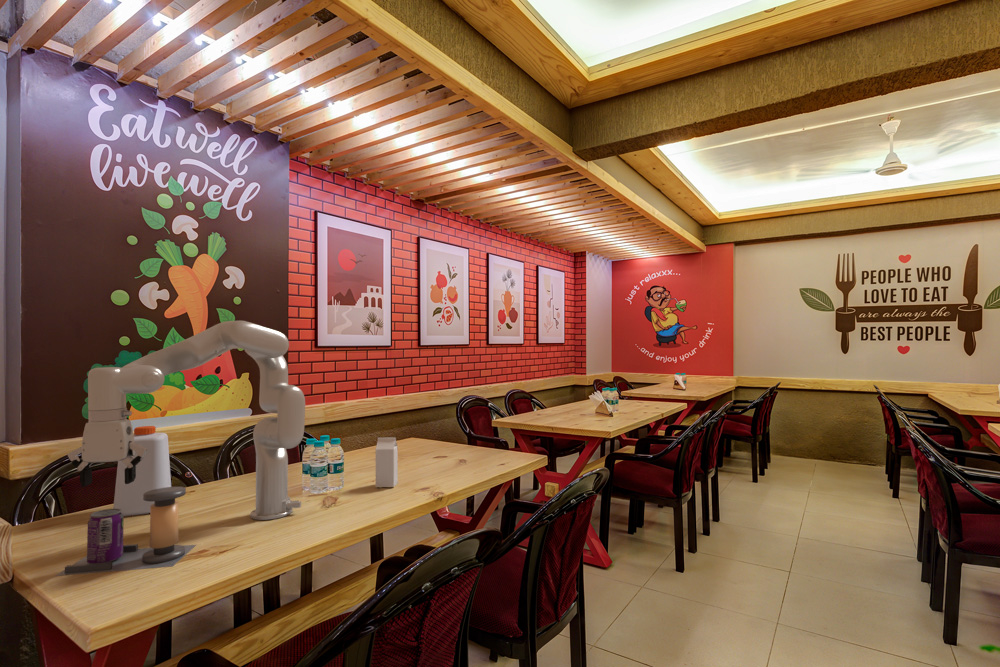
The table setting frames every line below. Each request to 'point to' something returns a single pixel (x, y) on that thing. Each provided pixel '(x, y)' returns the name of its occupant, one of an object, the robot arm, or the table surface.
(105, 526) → the beverage can
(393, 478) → the milk carton
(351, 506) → the table surface
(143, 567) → the board
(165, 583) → the table surface
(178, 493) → the bobbin
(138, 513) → the plastic bottle
